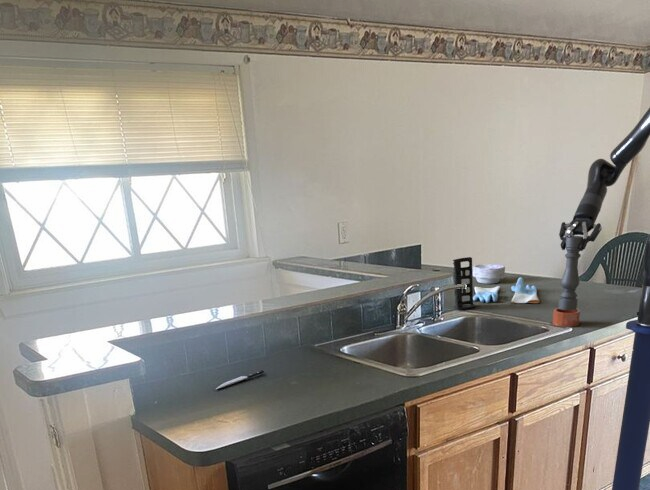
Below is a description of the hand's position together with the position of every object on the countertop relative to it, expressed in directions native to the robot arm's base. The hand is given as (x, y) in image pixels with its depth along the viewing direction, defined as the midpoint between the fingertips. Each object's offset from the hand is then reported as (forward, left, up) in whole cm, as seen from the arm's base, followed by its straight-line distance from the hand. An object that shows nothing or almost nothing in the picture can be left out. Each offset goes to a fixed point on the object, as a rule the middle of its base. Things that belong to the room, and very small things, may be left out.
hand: (571, 248), depth 227 cm
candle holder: (+1, -2, -21) cm, 22 cm away
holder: (+44, +16, -27) cm, 54 cm away
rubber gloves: (+54, -12, -27) cm, 62 cm away
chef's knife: (-6, +124, -27) cm, 127 cm away
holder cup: (+1, -1, -27) cm, 27 cm away
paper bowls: (+85, -24, -27) cm, 92 cm away
